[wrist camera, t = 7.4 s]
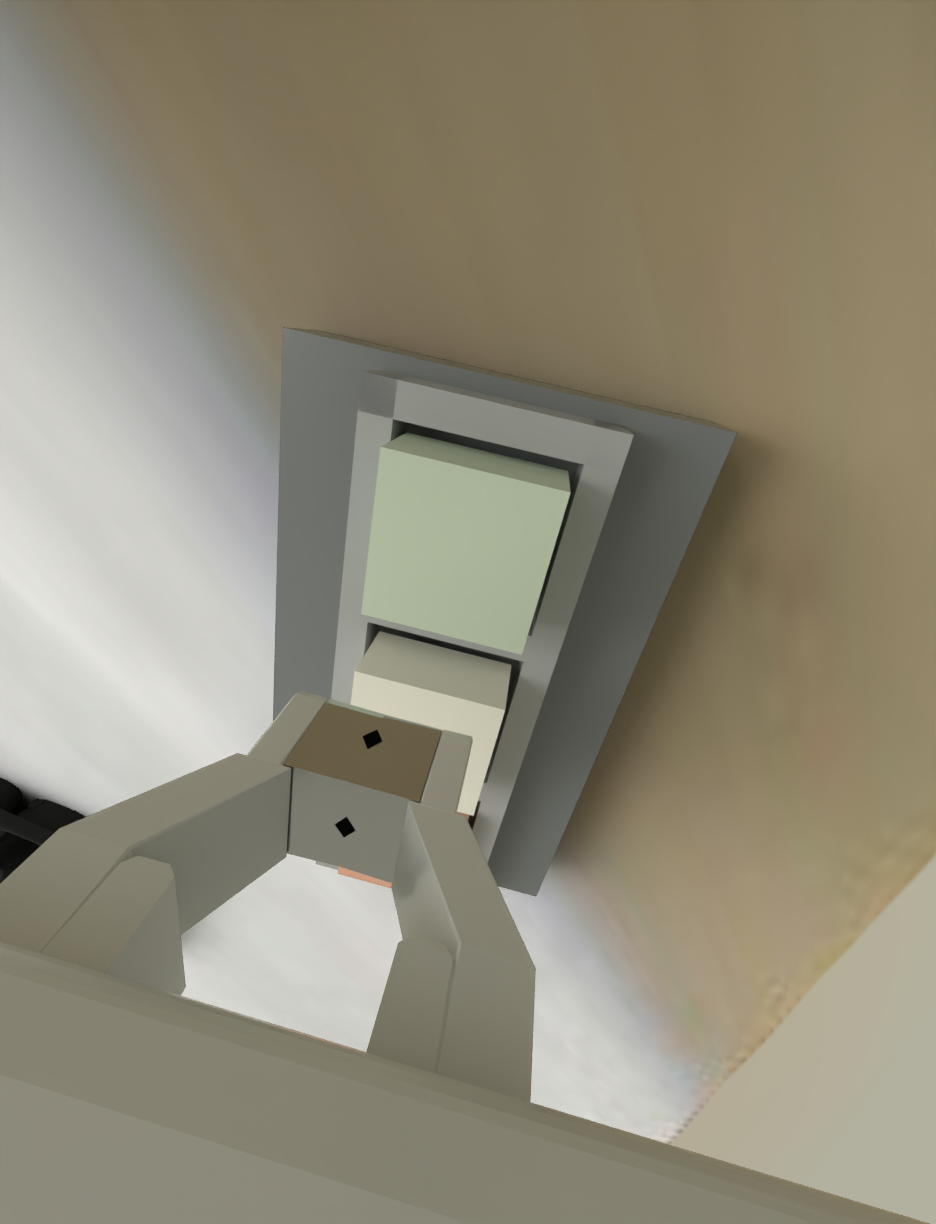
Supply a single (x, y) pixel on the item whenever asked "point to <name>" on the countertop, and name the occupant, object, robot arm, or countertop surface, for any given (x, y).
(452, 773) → the robot arm
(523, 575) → the sage key
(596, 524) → the keypad
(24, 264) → the countertop surface
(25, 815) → the egg carton
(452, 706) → the cream key
